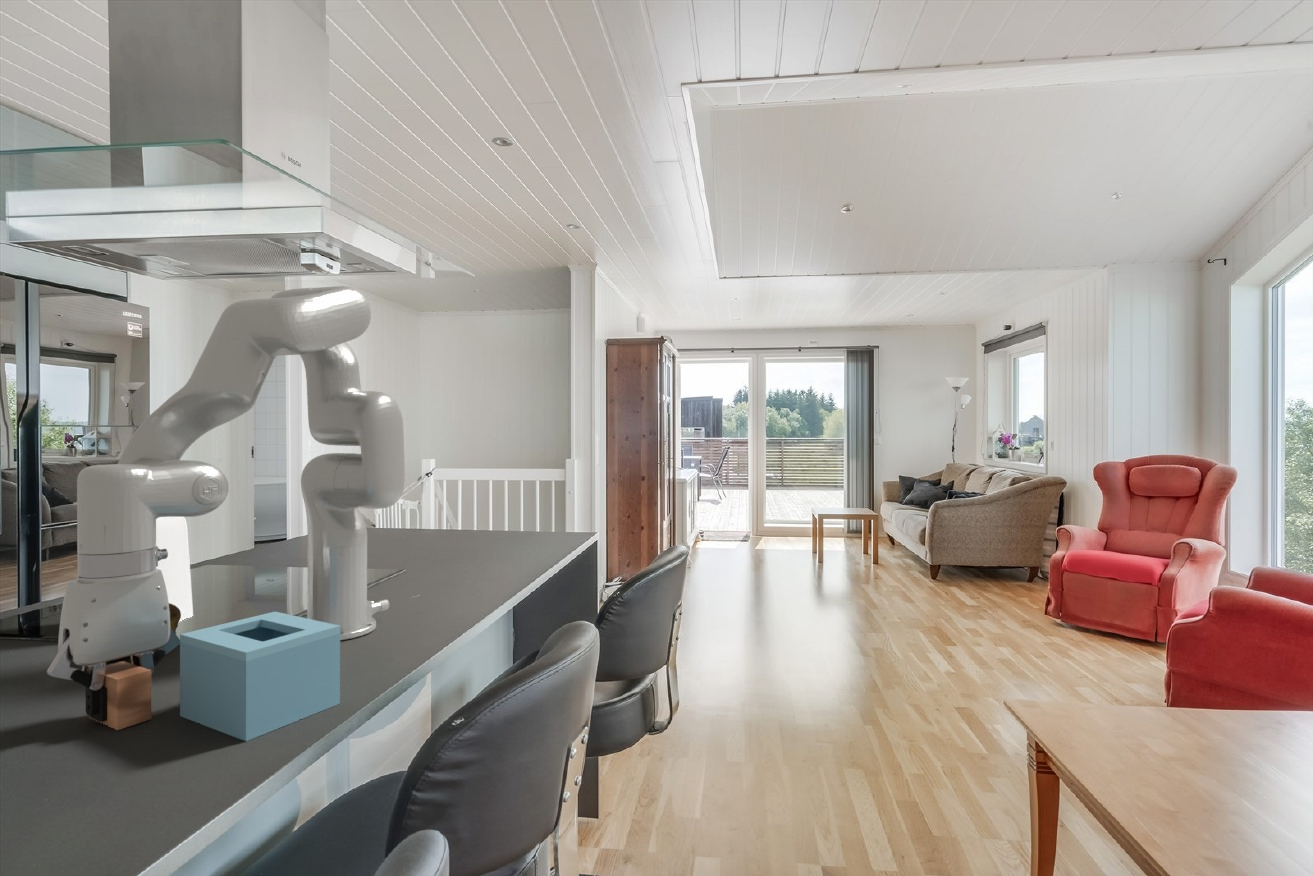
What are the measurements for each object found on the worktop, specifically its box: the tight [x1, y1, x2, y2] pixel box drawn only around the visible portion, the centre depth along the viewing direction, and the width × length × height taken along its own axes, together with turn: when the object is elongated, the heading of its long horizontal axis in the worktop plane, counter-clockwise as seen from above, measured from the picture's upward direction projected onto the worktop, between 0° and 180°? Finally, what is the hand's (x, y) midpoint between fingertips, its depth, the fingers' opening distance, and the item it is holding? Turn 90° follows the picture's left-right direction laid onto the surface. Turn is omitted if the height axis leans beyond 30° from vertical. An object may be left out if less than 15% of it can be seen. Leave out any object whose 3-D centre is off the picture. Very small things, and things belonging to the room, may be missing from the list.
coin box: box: [179, 611, 341, 742], centre depth 84 cm, size 12×14×10 cm
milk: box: [156, 517, 194, 623], centre depth 120 cm, size 12×12×26 cm
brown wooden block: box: [88, 660, 153, 731], centre depth 81 cm, size 4×7×6 cm, turn 62°
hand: (118, 711), depth 81 cm, fingers closed on brown wooden block, 3 cm apart
